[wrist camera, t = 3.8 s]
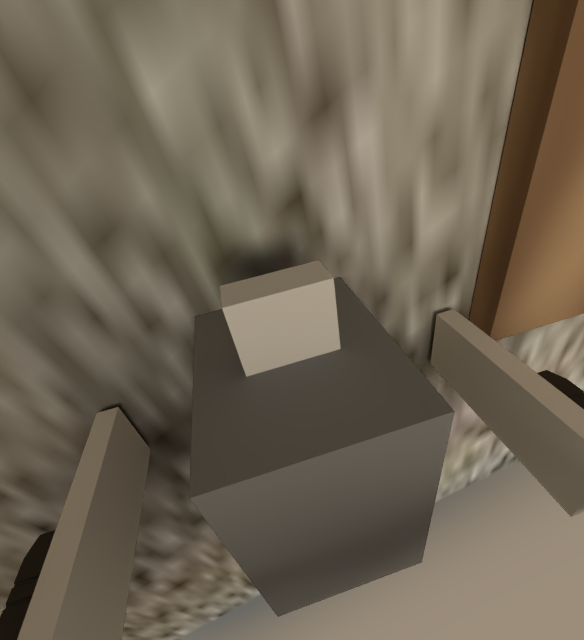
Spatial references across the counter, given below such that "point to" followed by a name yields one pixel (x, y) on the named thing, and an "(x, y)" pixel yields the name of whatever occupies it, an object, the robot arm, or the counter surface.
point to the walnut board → (539, 185)
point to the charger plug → (311, 437)
